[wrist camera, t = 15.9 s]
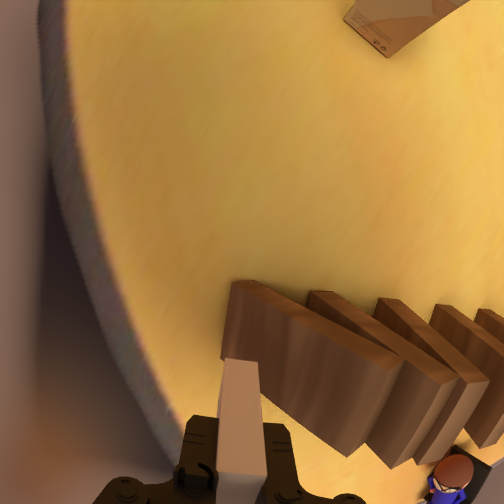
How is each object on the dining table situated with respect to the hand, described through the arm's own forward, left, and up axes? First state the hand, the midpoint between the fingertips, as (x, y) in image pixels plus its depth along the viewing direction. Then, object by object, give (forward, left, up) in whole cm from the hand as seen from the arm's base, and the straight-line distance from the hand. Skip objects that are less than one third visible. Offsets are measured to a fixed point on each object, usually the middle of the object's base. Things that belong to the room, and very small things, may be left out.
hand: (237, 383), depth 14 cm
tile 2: (0, +5, -7) cm, 9 cm away
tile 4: (0, +16, -7) cm, 18 cm away
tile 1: (0, 0, -7) cm, 7 cm away
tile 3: (0, +11, -7) cm, 13 cm away
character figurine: (+21, +30, -8) cm, 38 cm away
